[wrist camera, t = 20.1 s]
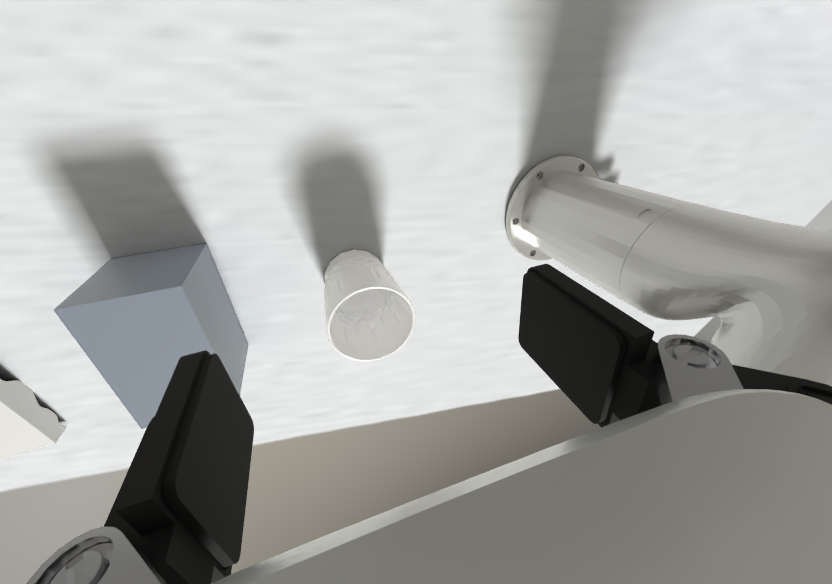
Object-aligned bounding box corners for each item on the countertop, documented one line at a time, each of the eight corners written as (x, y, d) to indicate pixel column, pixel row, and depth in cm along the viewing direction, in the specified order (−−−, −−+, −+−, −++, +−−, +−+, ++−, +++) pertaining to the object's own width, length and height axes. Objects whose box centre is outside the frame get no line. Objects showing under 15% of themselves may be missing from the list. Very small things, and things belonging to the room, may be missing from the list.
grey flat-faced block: (206, 243, 32) (181, 285, 24) (248, 344, 38) (238, 402, 31) (111, 258, 30) (53, 309, 23) (171, 362, 36) (141, 428, 29)
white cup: (303, 286, 37) (307, 340, 28) (347, 229, 35) (365, 269, 27) (361, 317, 41) (379, 373, 33) (402, 268, 39) (432, 312, 31)
